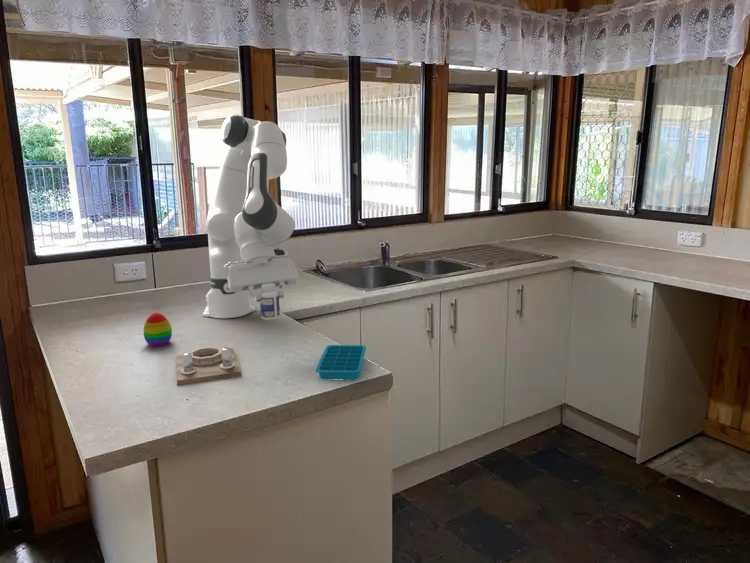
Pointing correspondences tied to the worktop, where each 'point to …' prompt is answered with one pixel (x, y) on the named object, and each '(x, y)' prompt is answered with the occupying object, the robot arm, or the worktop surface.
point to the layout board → (206, 366)
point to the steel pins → (190, 370)
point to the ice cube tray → (341, 362)
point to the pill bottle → (269, 302)
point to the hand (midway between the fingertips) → (269, 299)
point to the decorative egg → (157, 330)
